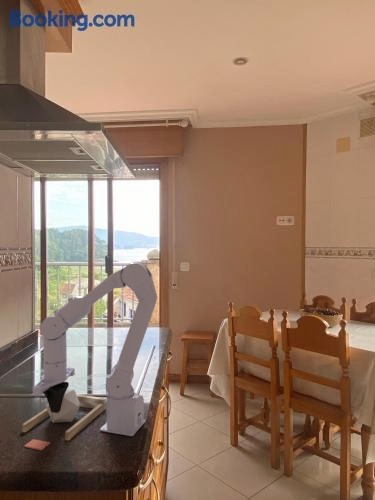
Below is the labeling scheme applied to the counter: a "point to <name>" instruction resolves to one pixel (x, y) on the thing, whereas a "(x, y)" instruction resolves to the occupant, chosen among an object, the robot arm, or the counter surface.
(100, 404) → the channel
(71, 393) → the die
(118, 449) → the counter surface
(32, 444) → the mat
